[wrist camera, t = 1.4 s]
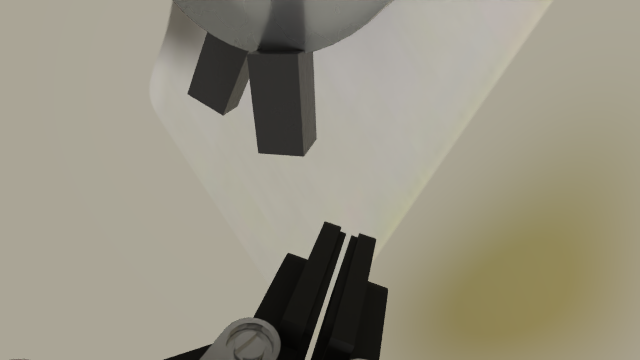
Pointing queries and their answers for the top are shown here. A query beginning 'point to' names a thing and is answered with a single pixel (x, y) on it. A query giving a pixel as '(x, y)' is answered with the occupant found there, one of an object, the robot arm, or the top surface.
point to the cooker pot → (220, 75)
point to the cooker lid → (282, 56)
